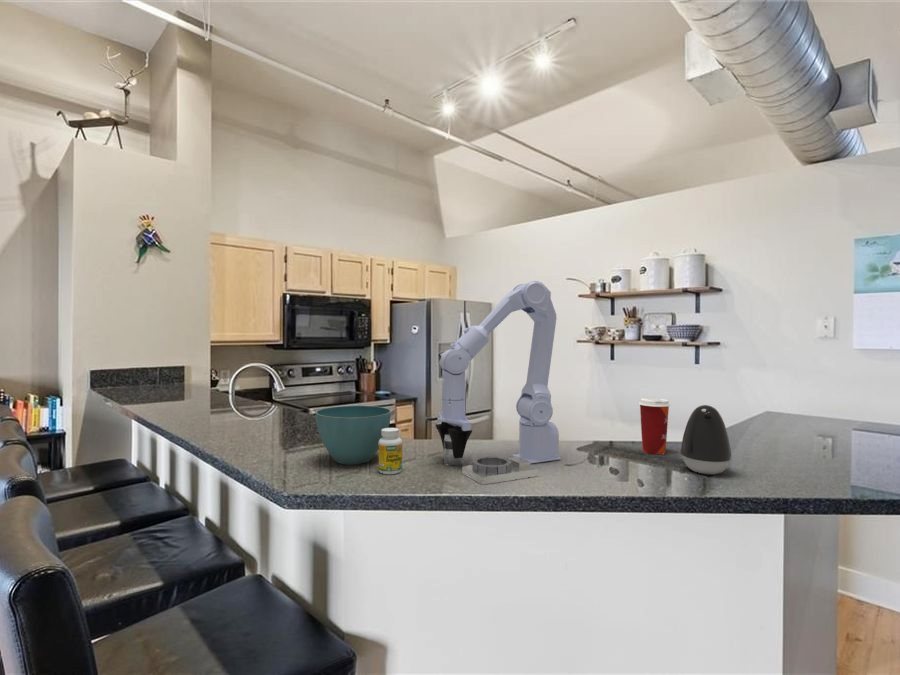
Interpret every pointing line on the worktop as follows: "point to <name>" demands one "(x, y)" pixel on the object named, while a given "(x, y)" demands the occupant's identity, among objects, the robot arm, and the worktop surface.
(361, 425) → the teal bowl
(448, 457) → the lens
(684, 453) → the black egg-shaped body
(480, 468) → the octagonal collar plate
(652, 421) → the paper cup
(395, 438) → the supplement bottle
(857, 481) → the worktop surface
